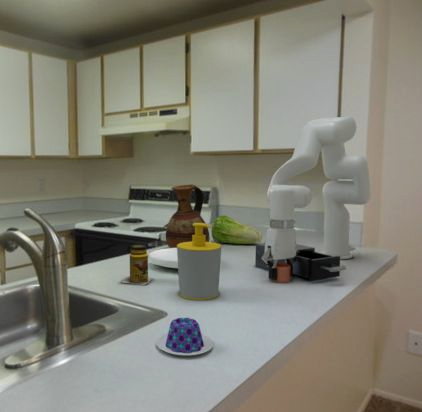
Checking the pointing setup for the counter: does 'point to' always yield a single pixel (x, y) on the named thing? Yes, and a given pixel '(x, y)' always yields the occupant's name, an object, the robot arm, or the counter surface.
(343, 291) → the counter surface
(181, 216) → the ceramic pitcher
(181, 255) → the soap bottle
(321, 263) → the drawer
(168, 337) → the pudding
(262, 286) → the counter surface
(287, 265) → the cup
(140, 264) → the condiment
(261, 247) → the dark gray drawer box
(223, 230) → the lettuce
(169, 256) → the plate
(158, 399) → the counter surface
